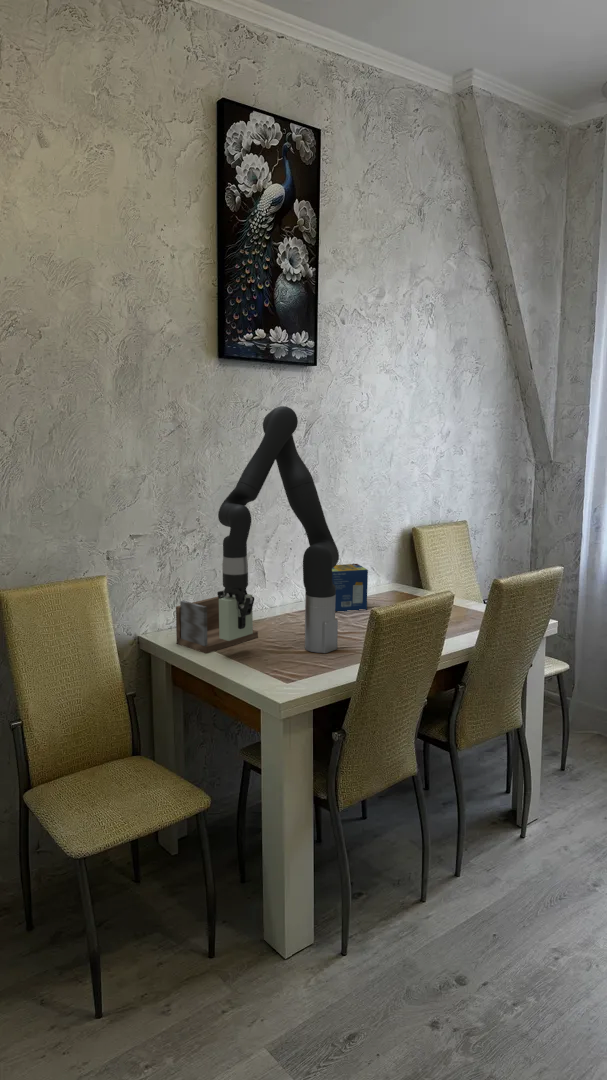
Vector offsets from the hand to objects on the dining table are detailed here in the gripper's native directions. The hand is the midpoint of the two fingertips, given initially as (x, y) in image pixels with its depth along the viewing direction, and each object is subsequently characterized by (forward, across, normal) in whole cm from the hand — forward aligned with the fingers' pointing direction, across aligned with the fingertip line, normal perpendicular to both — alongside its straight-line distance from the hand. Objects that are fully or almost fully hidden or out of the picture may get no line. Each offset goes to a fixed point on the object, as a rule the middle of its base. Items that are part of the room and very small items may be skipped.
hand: (236, 626), depth 225 cm
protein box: (+9, +9, -64) cm, 66 cm away
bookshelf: (+8, +14, -5) cm, 17 cm away
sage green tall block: (+3, 0, 0) cm, 3 cm away
